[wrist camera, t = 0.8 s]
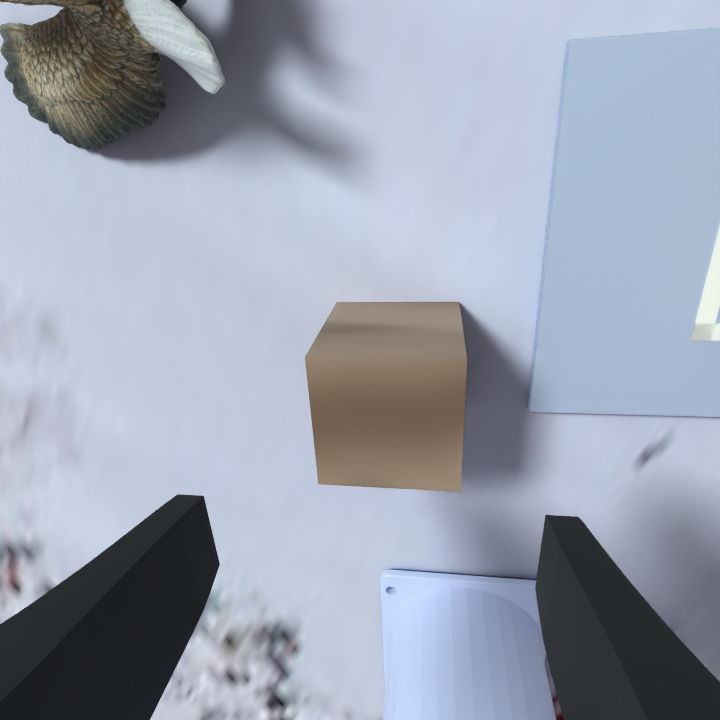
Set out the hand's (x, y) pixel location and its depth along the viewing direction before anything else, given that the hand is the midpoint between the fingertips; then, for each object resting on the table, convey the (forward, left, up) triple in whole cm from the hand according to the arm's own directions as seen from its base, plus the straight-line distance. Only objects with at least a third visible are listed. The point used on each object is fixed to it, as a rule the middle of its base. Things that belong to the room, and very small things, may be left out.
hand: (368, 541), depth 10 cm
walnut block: (0, 0, -10) cm, 10 cm away
